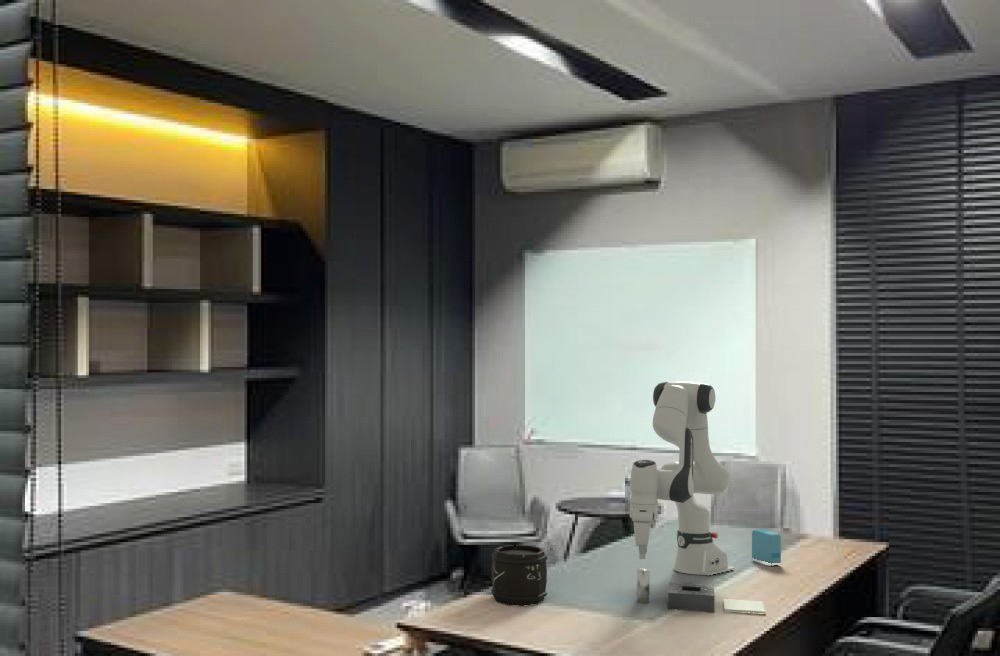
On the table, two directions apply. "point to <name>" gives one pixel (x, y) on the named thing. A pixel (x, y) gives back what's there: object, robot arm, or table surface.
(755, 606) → the pad
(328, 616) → the table surface
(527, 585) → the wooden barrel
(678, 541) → the robot arm
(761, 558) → the data package
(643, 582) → the key peg
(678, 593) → the block
